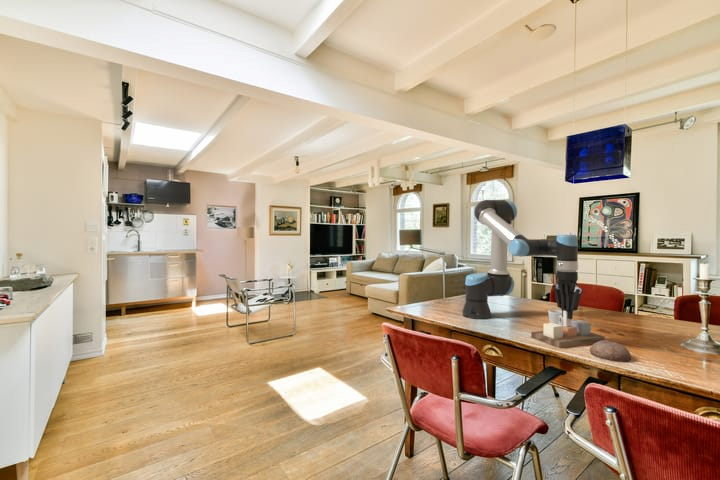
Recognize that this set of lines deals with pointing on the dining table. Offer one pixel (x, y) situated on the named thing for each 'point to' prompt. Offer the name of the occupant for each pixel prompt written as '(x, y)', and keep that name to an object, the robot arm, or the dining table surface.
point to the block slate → (582, 327)
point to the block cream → (553, 330)
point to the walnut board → (568, 339)
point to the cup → (555, 317)
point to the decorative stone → (610, 351)
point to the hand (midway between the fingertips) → (567, 325)
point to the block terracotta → (569, 331)
